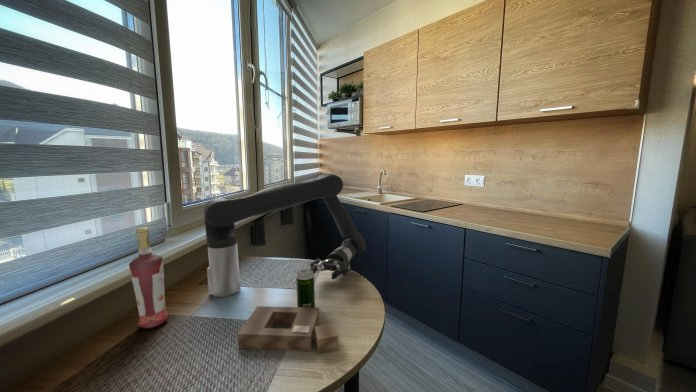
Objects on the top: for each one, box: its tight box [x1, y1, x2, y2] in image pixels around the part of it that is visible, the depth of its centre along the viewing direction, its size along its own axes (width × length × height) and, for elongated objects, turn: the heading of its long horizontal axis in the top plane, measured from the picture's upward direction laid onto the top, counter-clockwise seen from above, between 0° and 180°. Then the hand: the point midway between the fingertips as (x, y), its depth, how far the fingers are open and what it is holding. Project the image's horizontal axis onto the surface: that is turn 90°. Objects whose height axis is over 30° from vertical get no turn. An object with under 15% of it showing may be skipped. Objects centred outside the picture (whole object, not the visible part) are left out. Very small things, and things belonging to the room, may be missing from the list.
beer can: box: [295, 268, 316, 308], centre depth 79 cm, size 5×5×12 cm
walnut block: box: [314, 323, 339, 355], centre depth 64 cm, size 5×5×4 cm
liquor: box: [128, 226, 169, 330], centre depth 72 cm, size 7×7×28 cm
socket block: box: [237, 305, 320, 352], centre depth 69 cm, size 18×12×4 cm, turn 87°
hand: (321, 274), depth 89 cm, fingers open, 8 cm apart
